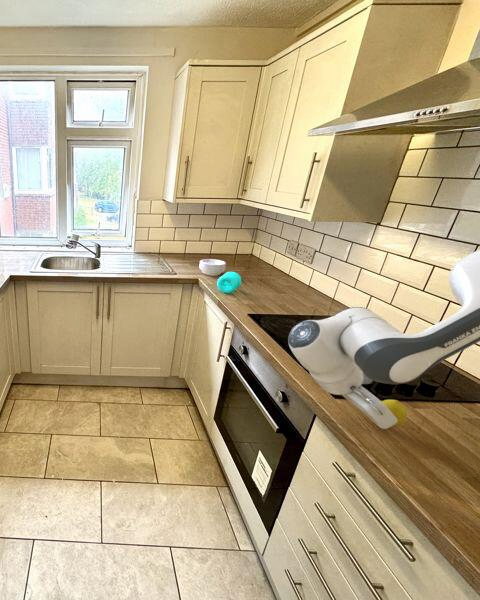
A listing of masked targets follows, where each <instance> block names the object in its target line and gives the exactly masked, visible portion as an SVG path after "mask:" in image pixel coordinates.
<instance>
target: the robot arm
mask: <svg viewBox="0 0 480 600" xmlns="http://www.w3.org/2000/svg"><path fill="white" fill-rule="evenodd" d="M448 285H449V288H450V291H451V293H452V295H453V296H454V298H455V299H456V301H457V302H458V303H459V305H460V306H461V308H459V310H458V311H457V312H455V313H453V314H451V315H450V316H448V317H447V318H444V319H442V320H441V321H438V322H437V323H435V324H434V325H432V326H429V327H428V328H426V329H424V330H423V331H421V332H418V333H413V334H412V333H405V332H402V331H400V329H398V328H397V327H395V326H394V325H392V324H391V323H389V322H388V321H387V320H386V319H384V318H383V317H382V316H380V315H378V314H377V313H376V312H374V311H372V310H371V309H370V308H367V307H362V306H353V307H348V308H344V309H342V310H340V311H338V312H336V313H335V314H333V315H331V316H329V317H327V318H323V319H307V320H302V321H300V322H299V323H297V324H296V325H294V326H293V327H292V328H291V330H290V332H289V334H288V336H287V337H288V338H287V342H288V346H289V349H290V350H291V353H292V354H293V356H294V357H295V358H296V360H297V361H298V362H299V363H300V364H301V366H302V367H303V368H304V369H306V370H307V371H308V372H309V374H310V376H311V377H312V379H313V380H314V381H315V382H316V383H317V384H318V385H319V387H320V388H321V389H322V390H323V391H325V392H327V393H328V394H332V395H337V396H342V397H343V398H344V399H345V400H347V401H348V402H349V403H350V404H351V405H352V406H354V407H355V408H356V409H357V410H359V412H361V414H363V415H364V416H365V417H366V418H368V419H369V420H370V421H371V422H373V424H375V425H376V426H377V427H378V428H380V429H382V430H388V429H389V428H392V427H391V426H393V425H395V424H396V423H397V422H398V420H397V418H396V417H395V416H394V415H393V414H392V412H391V411H390V410H389V409H388V408H387V407H386V406H385V405H384V404H383V403H382V401H381V399H379V398H378V397H376V396H375V395H374V394H373V393H372V392H370V391H369V390H368V389H367V388H365V387H363V384H362V383H363V373H364V374H365V375H366V376H367V377H368V378H369V379H371V380H373V382H376V383H381V384H386V385H387V384H388V385H403V384H408V383H411V382H413V381H415V380H417V379H419V378H421V377H422V376H423V375H424V374H426V373H427V372H428V371H430V370H431V369H432V368H434V367H435V366H436V365H439V364H440V363H441V362H443V361H445V360H447V359H449V358H451V357H453V356H454V355H457V354H458V353H460V352H462V351H464V350H466V349H468V348H470V347H472V346H473V345H475V344H477V343H479V342H480V249H478V250H475V251H473V252H471V253H469V254H467V255H465V256H464V257H462V258H461V259H460V260H458V261H457V262H456V263H454V264H453V266H452V267H451V269H450V271H449V274H448ZM353 360H354V361H355V362H354V361H353ZM355 363H356V364H357V365H358V366H357V365H356V364H355ZM358 367H359V368H360V369H361V370H362V371H363V373H362V371H361V370H360V369H359V368H358Z"/></svg>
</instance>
